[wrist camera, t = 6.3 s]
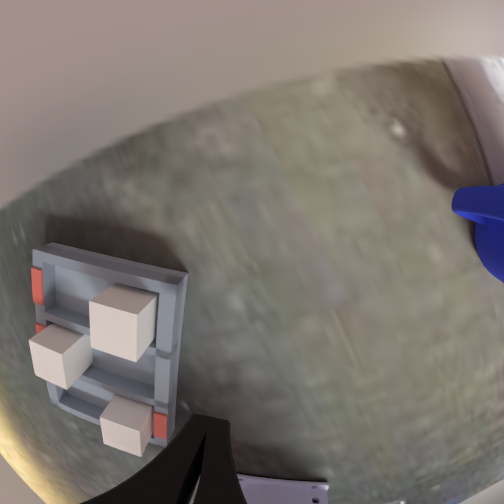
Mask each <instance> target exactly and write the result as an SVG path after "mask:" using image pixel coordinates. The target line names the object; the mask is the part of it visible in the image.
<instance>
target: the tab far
mask: <svg viewBox="0 0 504 504" xmlns="http://www.w3.org/2000/svg"><path fill="white" fill-rule="evenodd" d="M153 413H154V406H153V405H150V404H146V403H143V402H140V401H137V400H134V399H131V398H128V397H125V396H122V395H119V394H115V396H114V397H113V399H112V400H111V401H110V403H109V404H108V406H107V407H106V408H105V410H104V411H103V413H102V414H101V415H100V423H101V429H102V435H103V440H104V444H107V445H109V446H112V447H114V448H117V449H120V450H123V451H125V452H128V453H131V454H134V455H137V456H140V457H142V455H143V452H144V450H145V448H146V446H147V444H148V442H149V440H150V438H151V436H152V433H153V431H154V416H153Z"/></svg>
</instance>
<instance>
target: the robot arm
mask: <svg viewBox="0 0 504 504" xmlns="http://www.w3.org/2000/svg"><path fill="white" fill-rule="evenodd" d="M200 474H201V475H200ZM199 476H200V481H199V485H198V488H197V492H196V496H195V499H194V503H193V504H328V498H327V489H328V488H329V484H328V483H327V482H306V481H292V480H281V479H271V478H263V477H255V476H248V475H241V474H237V473H236V469H235V465H234V460H233V456H232V450H231V443H230V422H229V421H228V420H223V419H218V418H213V417H208V416H204V415H199V414H192V415H191V416H190V418H189V420H188V421H187V423H186V424H185V425H184V427H183V428H182V429H181V431H180V432H179V433H178V434H177V436H176V437H175V438H174V439H173V440H172V441H171V442H170V443H169V444H168V445H167V447H166V448H165V449H164V450H163V451H162V452H161V453H159V454H158V455H157V456H156V457H155V458H154V459H153V460H152V461H151V462H150V463H148V464H147V465H146V466H145V467H144V468H142V469H141V470H140V471H138V472H137V473H136V474H134V475H133V476H132V477H130V478H129V479H127V480H126V481H124V482H122V483H121V484H119V485H118V486H116V487H114V488H113V489H111V490H109V491H107V492H105V493H103V494H101V495H99V496H97V497H94V498H92V499H90V500H88V501H85V502H83V503H80V504H189V503H190V500H191V498H192V495H193V492H194V490H195V487H196V484H197V482H198V479H199Z"/></svg>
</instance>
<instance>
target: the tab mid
mask: <svg viewBox="0 0 504 504" xmlns="http://www.w3.org/2000/svg"><path fill="white" fill-rule="evenodd" d="M29 344H30V350H31V355H32V361H33V366H34V371H35V375H37V376H39V377H41V378H43V379H45V380H47V381H49V382H51V383H53V384H55V385H57V386H59V387H62V388H64V389H66V390H68V389H69V388H70V386H71V385H72V384H73V383H74V382H75V381H76V380H77V379H78V378H79V377H80V376H81V375H82V374H83V373H84V371H85V370H86V369H87V368H88V367H89V366H90V365H91V364H92V363H93V354H92V348H91V340H90V336H88V335H85V334H83V333H80V332H77V331H74V330H71V329H69V328H66V327H63V326H61V325H58V324H56V323H52V324H51V325H49V326H48V327H46V328H45V329H43V330H42V331H41V332H39V333H38V334H36V335H35V336H34V337H32V338H31V339H29Z"/></svg>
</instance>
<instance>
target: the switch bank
mask: <svg viewBox="0 0 504 504" xmlns="http://www.w3.org/2000/svg"><path fill="white" fill-rule="evenodd" d="M31 275H32V293H33V302H35V309H36V319H37V323H36V332H37V334H38V333H39V332H41V331H42V330H43V329H45V328H46V327H48V326H49V325H51V324H52V323H56V324H58V325H61V326H63V327H66V328H69V329H71V330H74V331H77V332H80V333H83V334H85V335H88V336H90V319H89V301H90V300H91V299H93V298H94V297H96V296H97V295H98V294H100V293H101V292H103V291H104V290H106V289H107V288H109V287H110V286H112V285H113V284H115V283H116V282H117V283H121V284H125V285H129V286H133V287H137V288H141V289H146V290H150V291H154V292H158V293H160V294H159V306H158V320H157V335H156V337H155V338H154V339H153V341H152V342H151V343H150V345H149V346H148V348H147V349H146V350H145V352H144V353H143V354H142V356H141V357H140V358H139V360H138V361H137V362H134V361H131V360H127V359H124V358H121V357H118V356H115V355H112V354H109V353H106V352H103V351H100V350H97V349H94V348H92V354H93V363H92V364H91V365H90V366H89V367H88V368H87V369H86V370H85V371H84V373H83V374H82V375H81V376H80V377H79V378H78V379H77V380H76V381H75V382H74V383H73V384H72V385H71V386H70V388H69V389H68V390H66V389H64V388H62V387H59V386H57V385H55V384H53V383H51V382H49V381H47V380H46V382H47V387H48V391H49V395H50V400H51V404H53V405H55V406H57V407H59V408H61V409H63V410H65V411H67V412H70V413H72V414H74V415H76V416H78V417H81V418H83V419H85V420H88V421H90V422H93V423H95V424H98V425H100V426H101V423H100V415H101V414H102V413H103V411H104V410H105V408H106V407H107V406H108V404H109V403H110V401H111V400H112V399H113V397H114V396H115V394H119V395H122V396H125V397H128V398H131V399H134V400H137V401H140V402H143V403H146V404H150V405H153V406H154V413H153V416H154V431H153V433H152V436H151V438H150V440H149V442H148V443H152V444H155V445H158V446H162V447H165V448H166V447H167V445H168V444H169V441H170V439H171V436H172V434H173V431H174V429H175V412H176V396H177V382H178V369H179V357H180V346H181V335H182V325H183V316H184V306H185V298H186V289H187V281H188V273H186V272H181V271H177V270H172V269H167V268H163V267H158V266H153V265H149V264H144V263H140V262H135V261H131V260H126V259H122V258H117V257H113V256H109V255H104V254H100V253H96V252H92V251H87V250H83V249H79V248H75V247H71V246H66V245H62V244H58V243H54V242H53V243H49V244H46V245H43V246H40V247H37V248H34V249H33V267H32V268H31Z"/></svg>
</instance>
